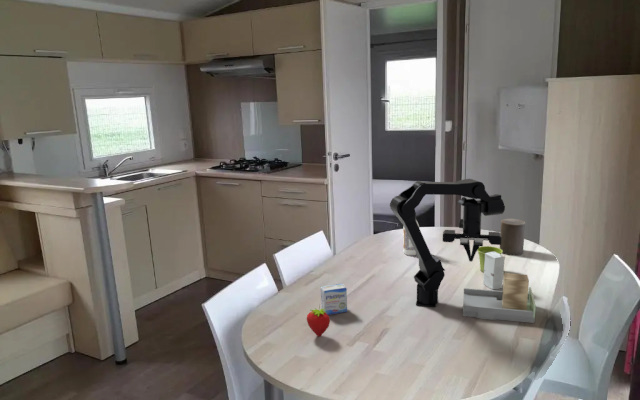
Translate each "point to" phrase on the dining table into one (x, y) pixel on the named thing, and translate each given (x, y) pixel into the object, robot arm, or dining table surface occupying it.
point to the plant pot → (484, 250)
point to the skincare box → (493, 270)
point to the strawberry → (318, 321)
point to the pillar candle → (512, 236)
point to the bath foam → (408, 243)
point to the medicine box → (334, 299)
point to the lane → (495, 306)
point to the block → (515, 291)
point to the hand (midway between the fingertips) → (470, 261)
